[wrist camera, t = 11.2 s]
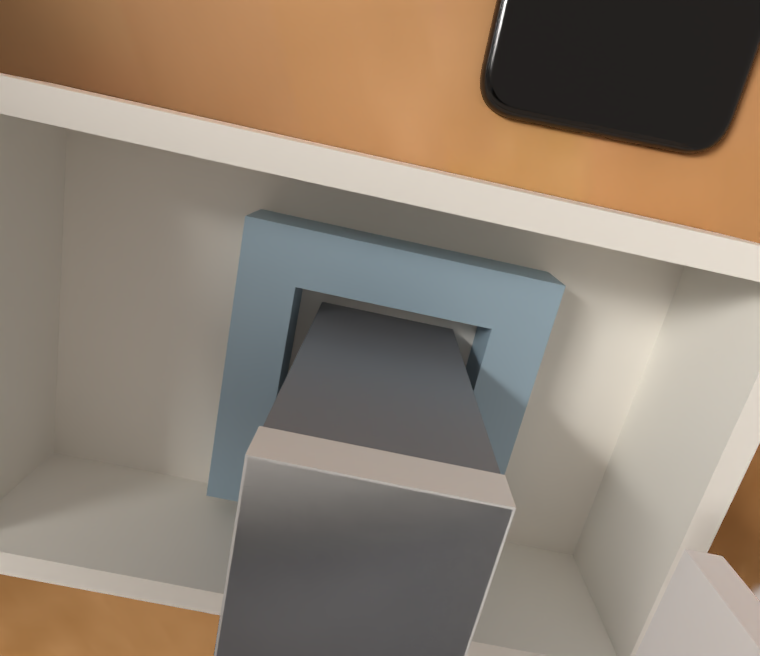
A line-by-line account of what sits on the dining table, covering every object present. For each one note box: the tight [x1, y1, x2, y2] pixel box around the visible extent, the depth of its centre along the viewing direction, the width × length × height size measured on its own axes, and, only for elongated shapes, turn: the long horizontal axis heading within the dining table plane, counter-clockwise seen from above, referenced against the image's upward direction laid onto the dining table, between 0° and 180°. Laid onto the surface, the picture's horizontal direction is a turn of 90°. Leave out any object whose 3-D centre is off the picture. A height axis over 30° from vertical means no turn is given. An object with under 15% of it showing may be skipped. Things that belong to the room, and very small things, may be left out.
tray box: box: [0, 73, 760, 656], centre depth 17 cm, size 22×14×6 cm, turn 78°
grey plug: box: [214, 302, 516, 656], centre depth 15 cm, size 5×5×10 cm
